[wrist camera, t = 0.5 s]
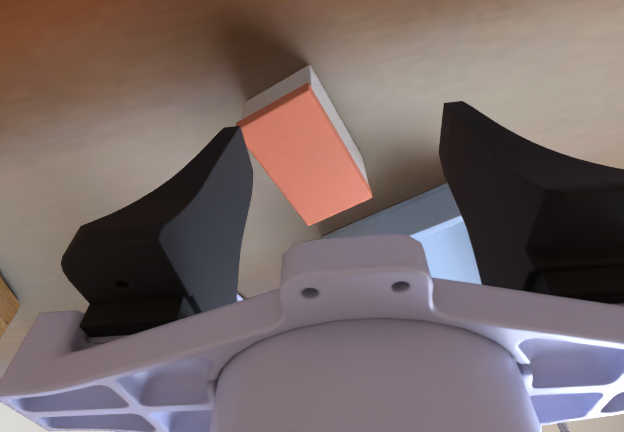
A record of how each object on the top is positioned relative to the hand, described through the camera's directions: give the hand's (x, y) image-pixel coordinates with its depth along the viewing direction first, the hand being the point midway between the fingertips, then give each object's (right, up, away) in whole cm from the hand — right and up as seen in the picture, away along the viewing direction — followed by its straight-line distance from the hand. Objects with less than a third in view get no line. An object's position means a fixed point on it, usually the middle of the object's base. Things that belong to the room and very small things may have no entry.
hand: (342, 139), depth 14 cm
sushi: (-1, +3, +11) cm, 11 cm away
